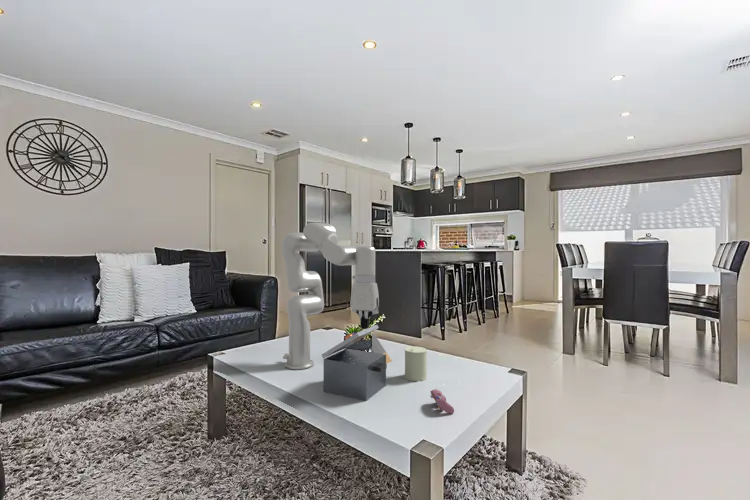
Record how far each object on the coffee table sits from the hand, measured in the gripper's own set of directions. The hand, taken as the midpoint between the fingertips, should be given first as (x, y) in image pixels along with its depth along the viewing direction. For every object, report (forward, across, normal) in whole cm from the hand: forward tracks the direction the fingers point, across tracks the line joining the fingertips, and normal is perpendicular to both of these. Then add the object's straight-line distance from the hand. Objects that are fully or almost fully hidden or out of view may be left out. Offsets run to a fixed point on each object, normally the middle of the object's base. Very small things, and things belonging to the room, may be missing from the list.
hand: (364, 328), depth 134 cm
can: (+23, +12, +22) cm, 34 cm away
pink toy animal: (+23, +30, -2) cm, 38 cm away
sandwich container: (+24, -13, +35) cm, 44 cm away
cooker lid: (+6, -6, 0) cm, 8 cm away
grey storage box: (+23, -2, 0) cm, 23 cm away
